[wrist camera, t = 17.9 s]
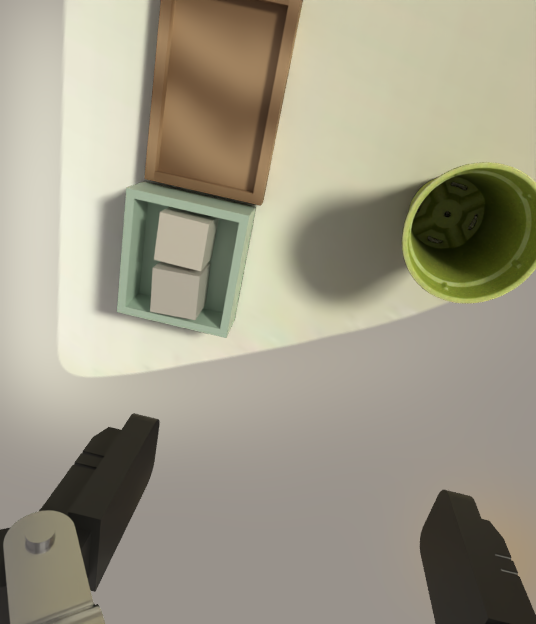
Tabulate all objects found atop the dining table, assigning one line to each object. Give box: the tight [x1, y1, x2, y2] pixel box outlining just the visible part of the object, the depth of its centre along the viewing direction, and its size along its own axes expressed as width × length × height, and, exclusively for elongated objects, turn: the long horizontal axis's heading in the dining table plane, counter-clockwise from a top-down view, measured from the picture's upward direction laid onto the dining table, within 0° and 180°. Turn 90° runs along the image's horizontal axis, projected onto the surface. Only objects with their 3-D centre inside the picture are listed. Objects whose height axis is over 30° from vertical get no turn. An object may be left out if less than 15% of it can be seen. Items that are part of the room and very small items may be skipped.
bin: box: [117, 181, 256, 338], centre depth 41 cm, size 11×10×4 cm
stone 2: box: [150, 261, 211, 320], centre depth 41 cm, size 4×4×4 cm
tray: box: [144, 0, 303, 205], centre depth 37 cm, size 15×10×2 cm, turn 168°
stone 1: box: [154, 207, 219, 271], centre depth 39 cm, size 4×4×4 cm
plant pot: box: [402, 162, 536, 303], centre depth 35 cm, size 9×9×9 cm
